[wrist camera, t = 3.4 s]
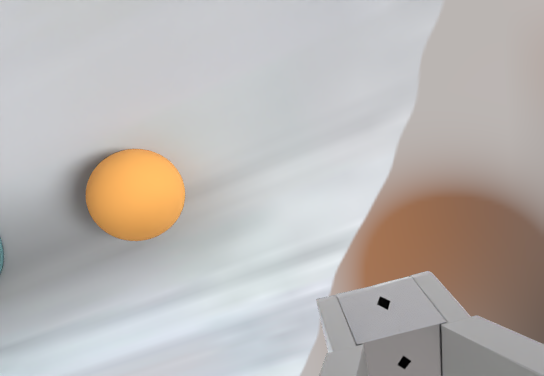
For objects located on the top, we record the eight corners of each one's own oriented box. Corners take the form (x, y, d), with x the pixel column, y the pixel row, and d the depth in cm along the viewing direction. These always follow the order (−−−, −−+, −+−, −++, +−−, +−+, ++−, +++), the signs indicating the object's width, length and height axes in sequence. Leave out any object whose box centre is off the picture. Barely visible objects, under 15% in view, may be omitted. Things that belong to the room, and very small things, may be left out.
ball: (91, 150, 21) (47, 182, 16) (173, 129, 21) (155, 154, 16) (125, 222, 24) (96, 270, 19) (200, 203, 24) (191, 245, 19)
